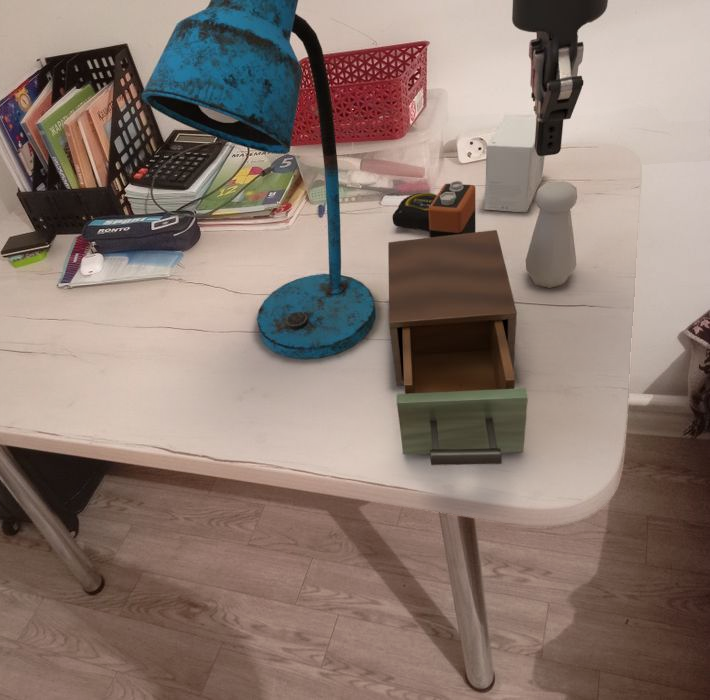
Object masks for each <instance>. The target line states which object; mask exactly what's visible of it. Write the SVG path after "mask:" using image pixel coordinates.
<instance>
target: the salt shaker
mask: <svg viewBox="0 0 710 700" xmlns="http://www.w3.org/2000/svg"><path fill="white" fill-rule="evenodd" d="M577 200H578V191H577V187H576V186H575V185H574V184H572V183H571V182H568V181H564V180H554V181H548V182H546V183H544V184H542V185H541V186H540V187H538V188H537V191H536V193H535V205H536V207H537V209H538V210H539V211H538V214H537V218H536V222H535V225H534V229H533V232H532V236H531V240H530V242H529V246H528V250H527V253H526V257H525V270H526V272H527V273H528V275H529V277H530V278H531V280H532V282H533V284H534V285H536V286H538V287H543V288H547V289H552V288H554V287H555V288H556V287H558V286H559V287H560V286H562V285H565V283H566V282H567V280H568V279H569V277H570V276H571V275H572V273H573V272H574V271H575V270H576V267H577V255H576V245H575V238H574V236H575V235H574V228H573V220H572V212H571V209H573V207H575V205H576V203H577Z"/></svg>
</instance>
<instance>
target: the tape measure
mask: <svg viewBox="0 0 710 700" xmlns="http://www.w3.org/2000/svg"><path fill="white" fill-rule="evenodd" d="M437 195H438V194H435V193H431V192H418V193H413V194H411V195H409V196H407V197H405V198H404V199H402V200H401V201H400V202H399V204H398V207H397V208H396V210H395V211H394V212H393V214H392V217H391V218H392V223H393V225H394V226H395V227H398V228H402V229H410V230H417V231H423V232H424V231H425V232H428V233H430V229H429V210H428V209H429V207H430V205H431V204H432V202H433V201H434V199H435V198H436V196H437Z"/></svg>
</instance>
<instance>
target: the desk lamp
mask: <svg viewBox="0 0 710 700" xmlns="http://www.w3.org/2000/svg"><path fill="white" fill-rule="evenodd" d="M298 3H299V0H209V3H208V5H207V6H206V7H205V9H202V10H200V11H198V12H196V13H194V14H192V15H189V16H188V17H185V18H184V19H182V20H180V21H179V22H177V23H176V25H175V27H174V29H173V31H172V33H171V35H170V37H169V39H168V41H167V43H166V45H165V47H164V49H163V51H162V53H161V54H160V57H159V59H158V61H157V63H156V65H155V67H154V68H153V71H152V72H151V74H150V77H149V79H148V81H147V83H146V84H145V87H144V89H143V91H142V93H141V100H142V101H144V103H146V104H147V105H148V106H150V107H151V108H153V109H154V110H155V111H157V112H159V113H161V114H162V115H164V116H166V117H168V118H170V119H171V120H174V121H176V122H179V123H180V124H182V125H184V126H186V127H189V128H191V129H194V130H195V131H198V132H201V133H203V134H206V135H208V136H212V137H214V138H216V139H219V140H222V141H225V142H228V143H231V144H234V145H237V146H241V147H243V148H248V149H250V150H255V151H259V152H262V153H263V152H264V153H268V154H274V155H287V154H288V153H291V145H292V139H293V134H294V129H295V128H294V127H295V123H296V121H295V120H296V116H297V109H298V103H299V98H300V93H301V92H300V91H301V85H302V80H303V68H302V66H301V64H300V61H299V59H298V57H297V55H296V53H295V51H294V49H293V47H292V44H291V36H292V33H293V34H295V36H297V38H298V39H299V40H300V42H302V44H303V47H304V49H305V51H306V54H307V57H308V63H309V66H310V67H309V68H310V71H311V75H312V81H313V85H314V93H315V99H316V105H317V112H318V113H317V114H318V120H319V130H320V131H319V132H320V140H321V148H322V150H321V151H322V157H323V167H324V180H325V183H324V185H325V202H326V216H327V217H326V219H327V248H328V273H320V274H311V275H306V276H303V277H300V278H296V279H294V280H292V281H289V282H287V283H285V284H283V285H281V286H280V287H278V288H276V289H275V290H273V291H272V292H271V293H270V294H269V295H268V296H267V297H266V298H265V299H264V300H263V302H262V304H261V305H260V307H259V309H258V313H257V317H256V322H257V327H258V331H259V335H260V339H261V340H262V342H263V343H264V345H265V346H266V347H267V348H268V349H269V350H271V351H273V352H274V353H276V354H278V355H280V356H283V357H286V358H290V359H299V360H311V359H312V360H313V359H322V358H326V357H331V356H334V355H337V354H340V353H342V352H344V351H346V350H348V349H351V348H353V347H354V346H355V345H357V344H358V343H360V342H361V341H362V340H363V339H364V338H366V336H367V335H368V334H369V333H370V331H371V330H372V328H373V327H374V323H375V321H376V317H377V315H376V311H377V310H376V305H375V303H376V302H375V298H374V296H373V293H372V292H371V290H370V288H369V287H368V286H366V285H365V284H364V283H363V282H362V281H360V280H358V279H355V278H354V277H352V276H347V275H343V274H342V242H341V241H342V238H341V236H342V234H341V233H342V231H341V204H340V184H339V183H340V182H339V181H340V180H339V165H338V155H337V154H338V153H337V142H336V133H335V132H336V131H335V123H334V122H335V121H334V111H333V104H332V103H333V102H332V96H331V89H330V81H329V76H328V70H327V66H326V61H325V57H324V51H323V48H322V45H321V42H320V40H319V37H318V34H317V33H316V31H315V30H314V29H313V27H312V25H310V23H308V21H307V20H306V19H305V18H303V17H302V16H300V15H298V14H297V9H298V8H297V7H298Z"/></svg>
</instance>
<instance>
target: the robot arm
mask: <svg viewBox="0 0 710 700" xmlns="http://www.w3.org/2000/svg"><path fill="white" fill-rule="evenodd" d="M608 3H609V0H512V10H511V12H512V13H511V22H512V24H513V26H514V27H515V28H516V29H518V30H520V31H523V32H526V33H535V34H536V38H535V39H531V40H530V41H529V43H528V44H529V45H528V57H529V59H530V81H529V85H530V88H531V94H530V96H531V97H530V98H531V99H532V102H534V105H533V112H534V115H536V132H535V150H536V153H537V155H538V156H544V157H546V156H552V155H553V156H554V155H557V154H559V153H560V152H561V150H562V140H563V131H564V129H563V128H564V120H570V119H571V118H572V115H573V113H574V110H575V107H576V105H577V103H578V100H579V97H580V95H581V92H582V89H583V86H584V79H583V76H582V75H578V74H579V67H580V65H581V64H582V62H583V58H584V57H583V56H584V48H585V47H584V41H579V34H578V33H579V31H580V29H581V28H582V27H583V26H585V25H587V24H588V23H593V22H595V21H596V20H598V19H599V18H601V17H602V16H603V15H604V13H605V12H606V11H607V8H608Z"/></svg>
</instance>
